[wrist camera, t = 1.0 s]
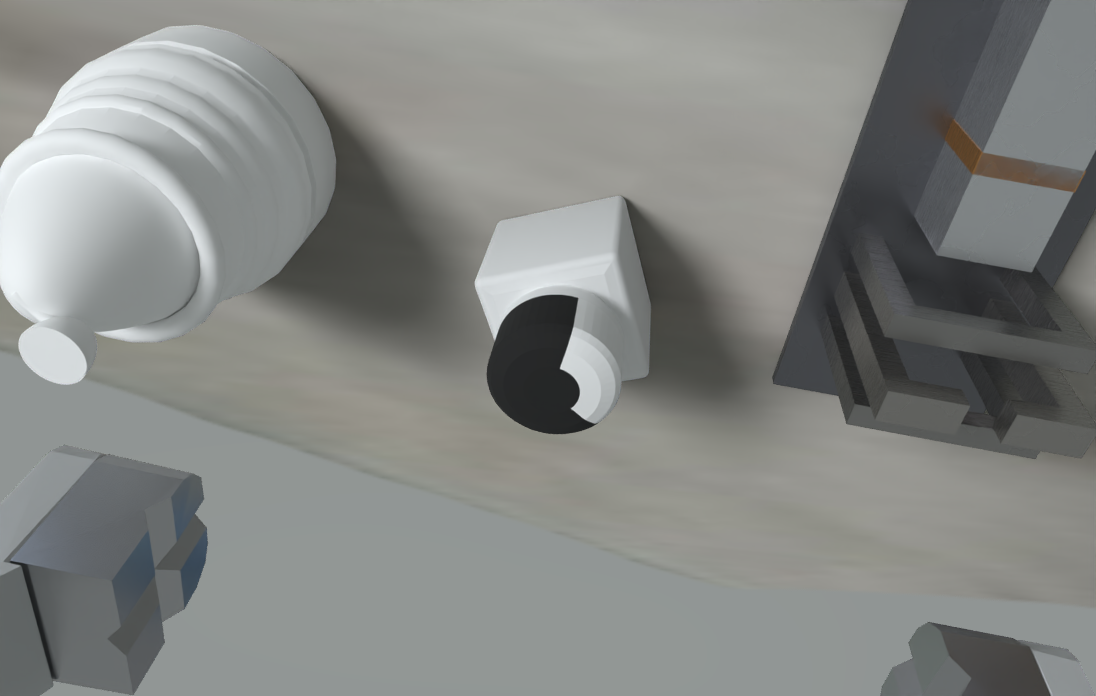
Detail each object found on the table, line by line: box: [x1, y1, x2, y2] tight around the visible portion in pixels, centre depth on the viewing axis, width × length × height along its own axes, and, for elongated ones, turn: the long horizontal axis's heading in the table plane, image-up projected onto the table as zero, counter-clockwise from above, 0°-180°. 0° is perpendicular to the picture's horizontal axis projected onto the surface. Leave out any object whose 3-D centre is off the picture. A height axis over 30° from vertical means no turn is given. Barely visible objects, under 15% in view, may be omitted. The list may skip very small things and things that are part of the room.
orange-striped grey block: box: [914, 0, 1096, 272], centre depth 37 cm, size 16×4×4 cm, turn 172°
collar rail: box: [773, 0, 1096, 459], centre depth 38 cm, size 27×12×11 cm, turn 172°
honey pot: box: [0, 25, 336, 384], centre depth 39 cm, size 13×13×18 cm
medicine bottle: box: [475, 196, 651, 434], centre depth 43 cm, size 7×7×12 cm
